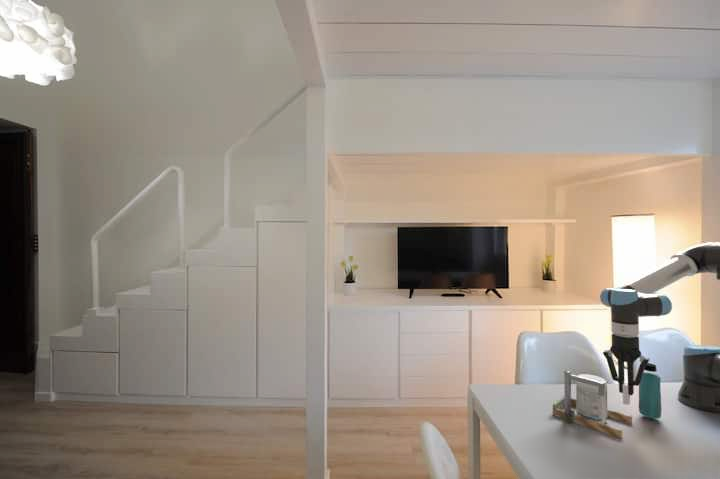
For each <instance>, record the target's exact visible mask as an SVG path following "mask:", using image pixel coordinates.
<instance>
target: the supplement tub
mask: <svg viewBox="0 0 720 479" xmlns="http://www.w3.org/2000/svg"><path fill="white" fill-rule="evenodd" d="M576 376H580V377H584V378H588V379H592V380H596V381H600V382H604V383H605V395H604V396H600V395H598V387H597V386H594V385H590V384H586V383H582V382H579V381H575V386H576V387H575V388H576V390H575V391H576V392H575V394H576V395H575V396H576V398H575V399H576V407H575V408H576V412H575V413H576V415H578V416H581V417H584V418H587V419H590V420H593V421H596V422H600V423H603V424H606V423H608V417H607V409H608V382H607V380H606V379H605V378H603V377H600V376H598V375H593V374H589V373H588V374H586V373H584V374H583V373H582V374H577V375H576Z"/></svg>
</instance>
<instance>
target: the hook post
mask: <svg viewBox="0 0 720 479" xmlns="http://www.w3.org/2000/svg"><path fill="white" fill-rule="evenodd" d="M563 373H564V380H563V381H564V383H563V384H564V388H563V389H564V392H563V393H564V395H563V396H564V409H563V411H564V423H565V424H571V423H572V421H571V409H572V405H571V398H572V381H575V382H576V381H579V382H582V383H586V384H590V385H594V386H597V387H598V395H600V396H604V395H605V383H604V382H600V381H596V380H592V379H588V378H584V377H580V376H577V375H576V374H572V372H571V371H570V370H564V372H563Z"/></svg>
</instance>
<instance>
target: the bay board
mask: <svg viewBox="0 0 720 479" xmlns="http://www.w3.org/2000/svg"><path fill="white" fill-rule="evenodd" d="M572 406H573V407H575V408H576V398H572V397H571V407H572ZM552 416H555V417H556V418H557V417H558V418H560V419H564V395H563V396H561V397H560V398H559V399H558V400H555V402H554V403H553V404H552ZM607 418H611V419H614V420H617V421H620V422H622V423H627V424H630V425H632V424H633V416H632V415H629V414H625V413H623V412H619V411H616V410H613V409H609V408H607ZM571 423H575V424H578V425H581V426H584V427H586V428H589V429H592V430H595V431H598V432H601V433H604V434H607V435H610V436H611V437H612V436H613V437H616V438H618V439H623V429H620V428H617V427H614V426H611V425H608V424H606V423H605V424H603V423H600V422H596V421H593V420H590V419H587V418H584V417H581V416H578V415H577V414H576V412H575V409H572V408H571Z"/></svg>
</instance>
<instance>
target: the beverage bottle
mask: <svg viewBox="0 0 720 479" xmlns="http://www.w3.org/2000/svg"><path fill="white" fill-rule="evenodd" d="M657 371H658V370H657V365H656V364H654V363H650V362H648V363H647V364H646V366H645V369H644V372H643V376H642V379H641V382H640V384H639V385H638V400H637V401H638V411H639V414H641V415H642V416H644V417H648V418H651V419H657V420H658V419H661V417H662V409H663V407H662V396H661V395H662V394H661V393H662V392H661V377H660V376H659V375H658V374H657ZM654 372H656V373H654Z"/></svg>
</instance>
